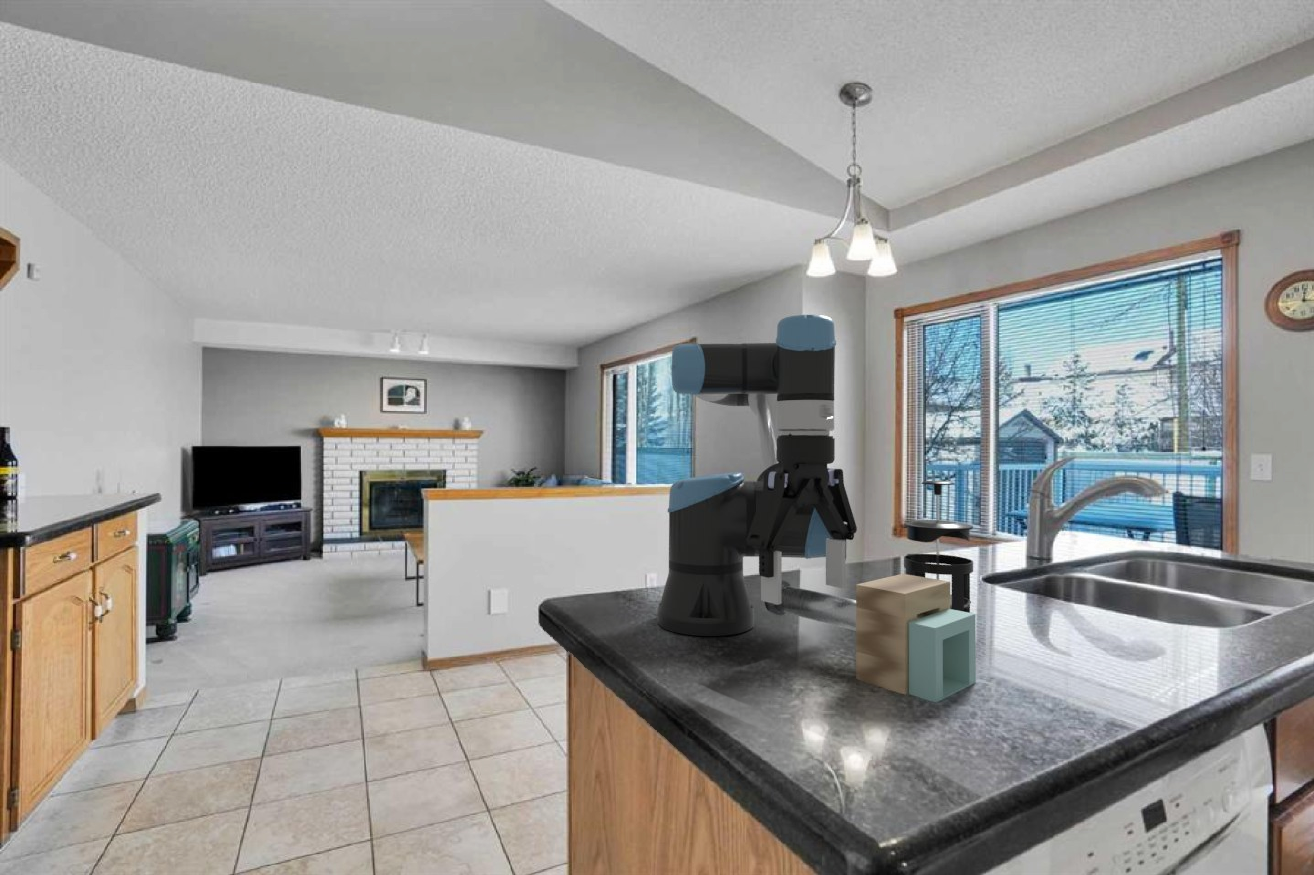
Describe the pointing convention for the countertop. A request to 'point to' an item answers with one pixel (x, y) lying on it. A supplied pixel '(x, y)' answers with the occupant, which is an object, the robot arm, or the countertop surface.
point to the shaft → (817, 606)
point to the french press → (957, 565)
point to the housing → (892, 625)
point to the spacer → (942, 654)
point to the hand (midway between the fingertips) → (804, 594)
